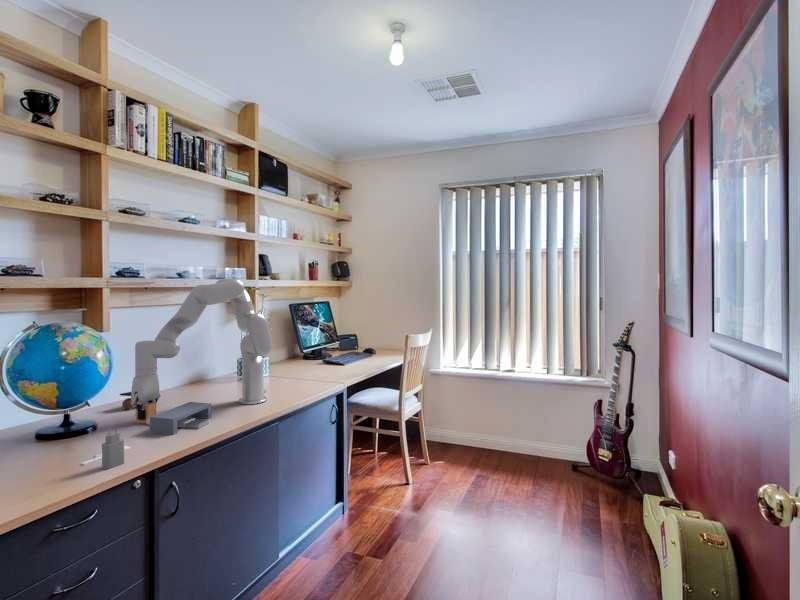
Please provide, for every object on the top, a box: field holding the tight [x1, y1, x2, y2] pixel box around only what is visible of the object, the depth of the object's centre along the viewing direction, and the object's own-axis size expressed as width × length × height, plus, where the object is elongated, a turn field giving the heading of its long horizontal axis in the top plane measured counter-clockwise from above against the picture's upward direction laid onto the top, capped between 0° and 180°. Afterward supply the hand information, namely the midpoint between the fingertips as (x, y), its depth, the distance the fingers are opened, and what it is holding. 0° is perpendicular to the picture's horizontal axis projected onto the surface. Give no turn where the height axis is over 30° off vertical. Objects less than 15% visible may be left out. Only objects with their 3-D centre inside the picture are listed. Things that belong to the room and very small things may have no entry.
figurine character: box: [119, 391, 148, 411], centre depth 199 cm, size 7×8×15 cm
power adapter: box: [101, 424, 125, 470], centre depth 134 cm, size 3×5×12 cm, turn 156°
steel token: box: [184, 418, 210, 430], centre depth 172 cm, size 6×6×2 cm
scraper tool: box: [135, 402, 196, 429], centre depth 175 cm, size 6×23×7 cm, turn 77°
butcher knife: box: [80, 445, 132, 466], centre depth 142 cm, size 5×15×1 cm, turn 158°
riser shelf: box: [149, 401, 212, 435], centre depth 174 cm, size 22×10×6 cm, turn 168°
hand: (146, 417), depth 177 cm, fingers closed on scraper tool, 4 cm apart
